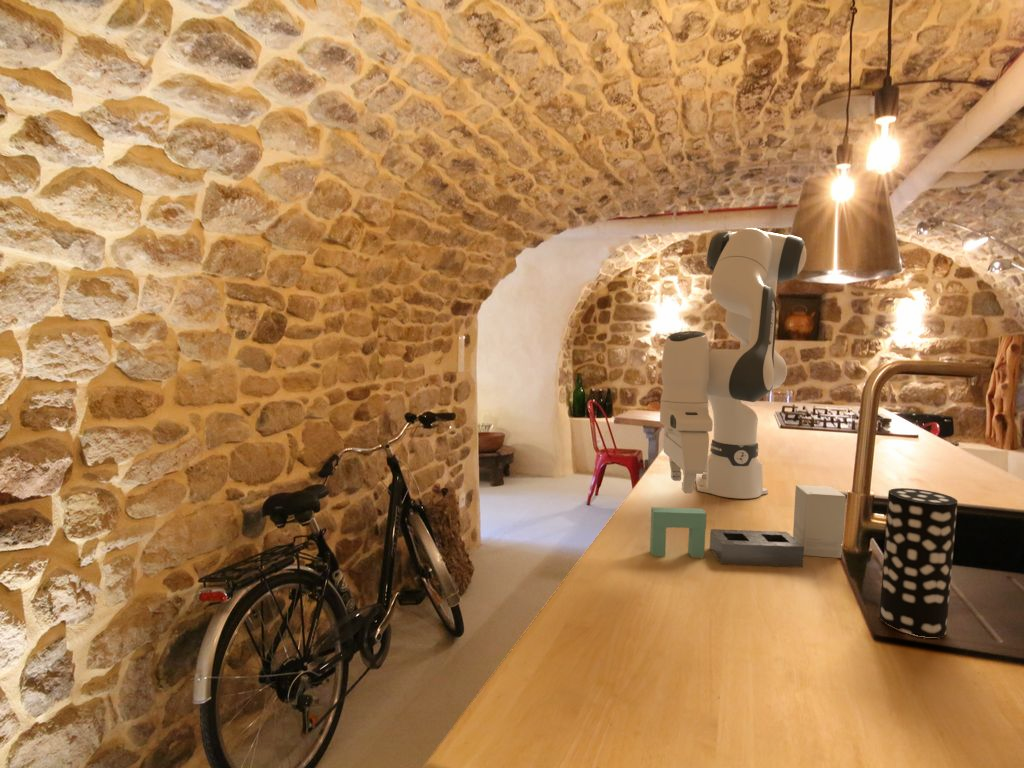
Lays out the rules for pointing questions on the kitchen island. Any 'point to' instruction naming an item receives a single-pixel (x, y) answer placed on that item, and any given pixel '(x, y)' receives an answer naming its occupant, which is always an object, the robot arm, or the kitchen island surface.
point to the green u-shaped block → (678, 519)
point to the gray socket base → (756, 548)
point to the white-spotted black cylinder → (918, 561)
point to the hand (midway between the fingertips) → (681, 486)
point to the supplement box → (819, 520)
